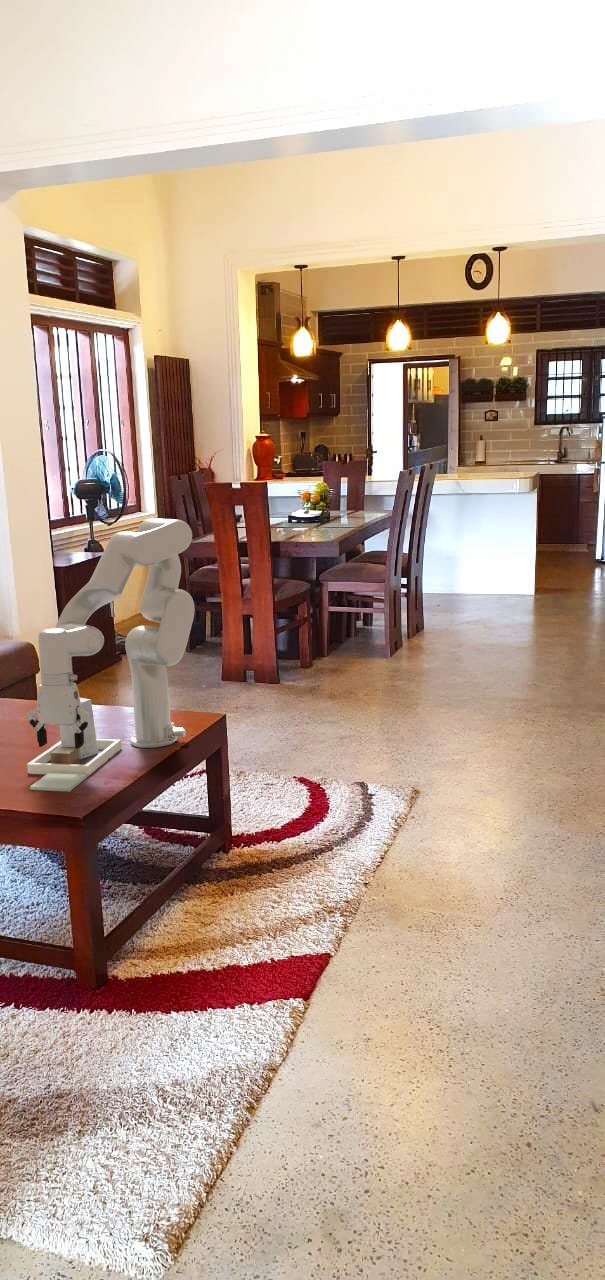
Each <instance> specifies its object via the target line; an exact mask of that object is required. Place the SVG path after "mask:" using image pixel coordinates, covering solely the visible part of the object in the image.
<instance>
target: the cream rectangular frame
mask: <svg viewBox="0 0 605 1280" xmlns="http://www.w3.org/2000/svg"><path fill="white" fill-rule="evenodd" d="M96 741H97V748H98V750H102V751H101V752H99V753H98V754H96V756H94V757H93V758H92V759H90V760H89V761H88V762H87V763H85V764H80V765H79V764H52V763H51V762H50V761H51V752H53V751H54V750H56V749H57V748H58V747H62V744H61V740H59V741H58V742H57V743H55V744H54V745H52V746H51V747H50V748H49V749H47V750H45V751H44V752H43V753H40V754H39V755H38V756H37V757H35V758H34V759H32V760H31V761H29V762H28V763H26V765H27V766H26V767H27V774H28V773H29V775H46V774H48V773H49V772H59V773H85V774H87V776H88V777H89V776H90V775H92V774H93V773H94V772H96V770H98V769H99V768H100V767H101V766H102V765H104V764H105V763H107V761H109V760H108V759H109V758H110V759H111V758H112V757H114V756H115V755H116V754H117V753H118V752H119V751H121V750H122V749H121V748H122V740H121V739H114V738H112V739H111V738H110V739H107V738H105V739H104V738H96ZM120 749H121V750H120ZM117 751H118V752H117ZM116 752H117V753H116ZM115 753H116V754H115ZM114 754H115V755H114Z"/></svg>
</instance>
